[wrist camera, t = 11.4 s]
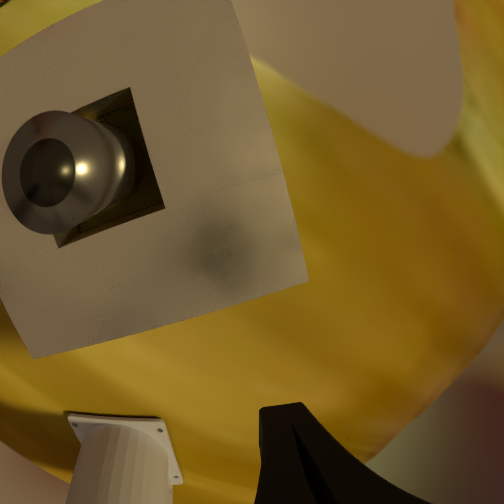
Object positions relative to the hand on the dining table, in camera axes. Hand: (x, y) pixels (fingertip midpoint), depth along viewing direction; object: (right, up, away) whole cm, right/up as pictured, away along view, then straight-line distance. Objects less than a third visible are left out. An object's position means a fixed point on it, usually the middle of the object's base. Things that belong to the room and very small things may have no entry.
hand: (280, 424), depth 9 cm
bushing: (-8, +10, +6) cm, 14 cm away
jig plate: (-8, +10, +6) cm, 14 cm away
